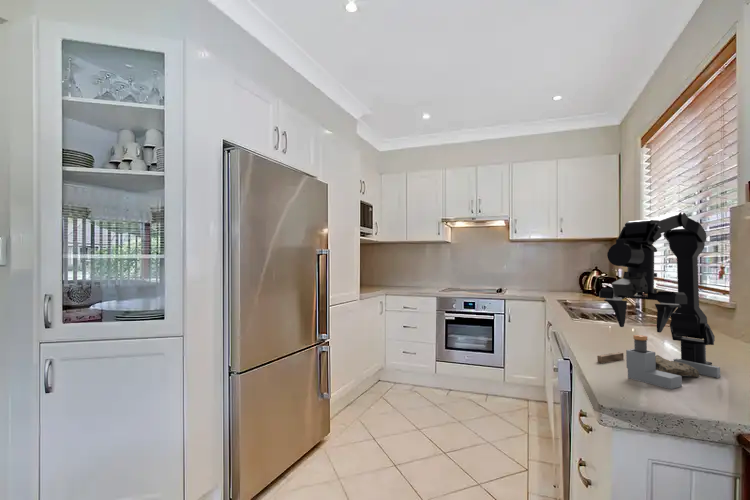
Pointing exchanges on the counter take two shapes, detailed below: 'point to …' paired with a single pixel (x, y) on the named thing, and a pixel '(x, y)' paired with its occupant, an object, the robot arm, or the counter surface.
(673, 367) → the rock
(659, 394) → the counter surface
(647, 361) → the bay
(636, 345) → the plunger
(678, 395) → the counter surface
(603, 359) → the bar
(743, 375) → the counter surface
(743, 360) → the counter surface
